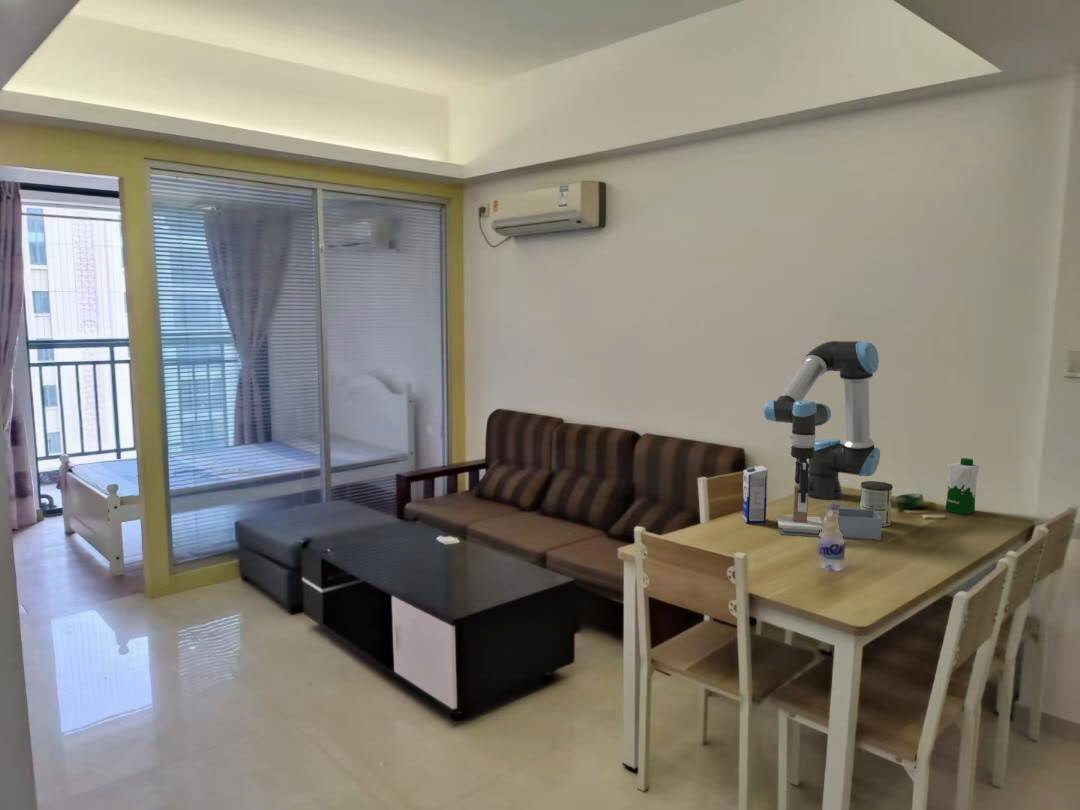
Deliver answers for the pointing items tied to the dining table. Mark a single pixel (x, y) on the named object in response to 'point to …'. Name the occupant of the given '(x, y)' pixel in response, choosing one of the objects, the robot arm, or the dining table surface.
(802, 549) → the dining table surface
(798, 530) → the lid
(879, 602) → the dining table surface
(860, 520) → the box
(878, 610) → the dining table surface
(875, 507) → the coffee can
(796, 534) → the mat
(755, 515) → the milk carton
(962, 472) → the soya milk
